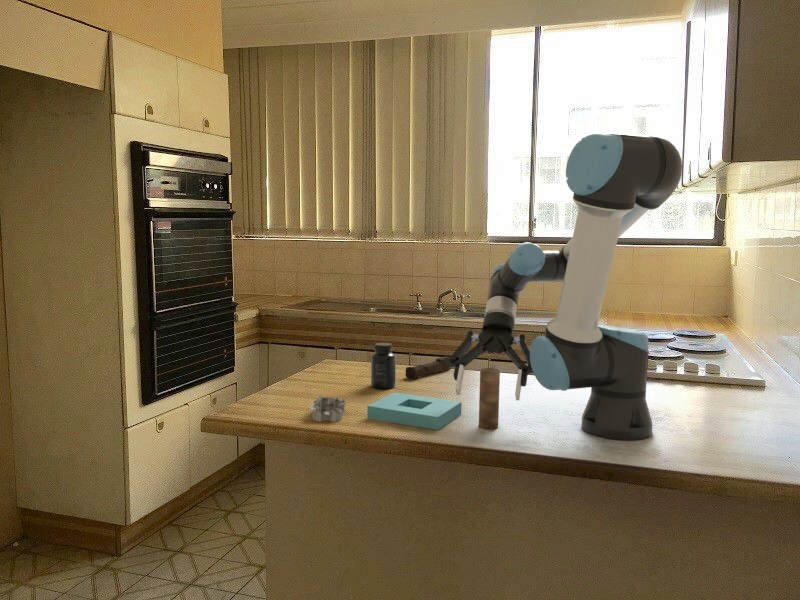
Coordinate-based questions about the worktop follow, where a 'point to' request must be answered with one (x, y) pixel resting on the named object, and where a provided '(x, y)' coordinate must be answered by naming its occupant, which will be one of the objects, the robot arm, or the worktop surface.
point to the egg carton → (328, 409)
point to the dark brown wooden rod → (428, 368)
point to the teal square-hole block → (414, 410)
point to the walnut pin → (489, 398)
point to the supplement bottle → (383, 367)
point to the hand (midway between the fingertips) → (486, 394)
